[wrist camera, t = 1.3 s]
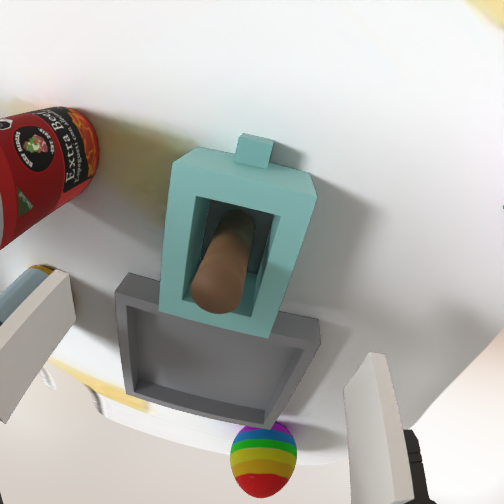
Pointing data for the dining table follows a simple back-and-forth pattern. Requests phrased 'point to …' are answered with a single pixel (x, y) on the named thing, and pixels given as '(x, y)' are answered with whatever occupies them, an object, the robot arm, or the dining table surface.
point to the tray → (209, 359)
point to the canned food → (42, 165)
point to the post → (224, 264)
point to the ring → (242, 194)
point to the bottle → (21, 289)
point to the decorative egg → (263, 459)
